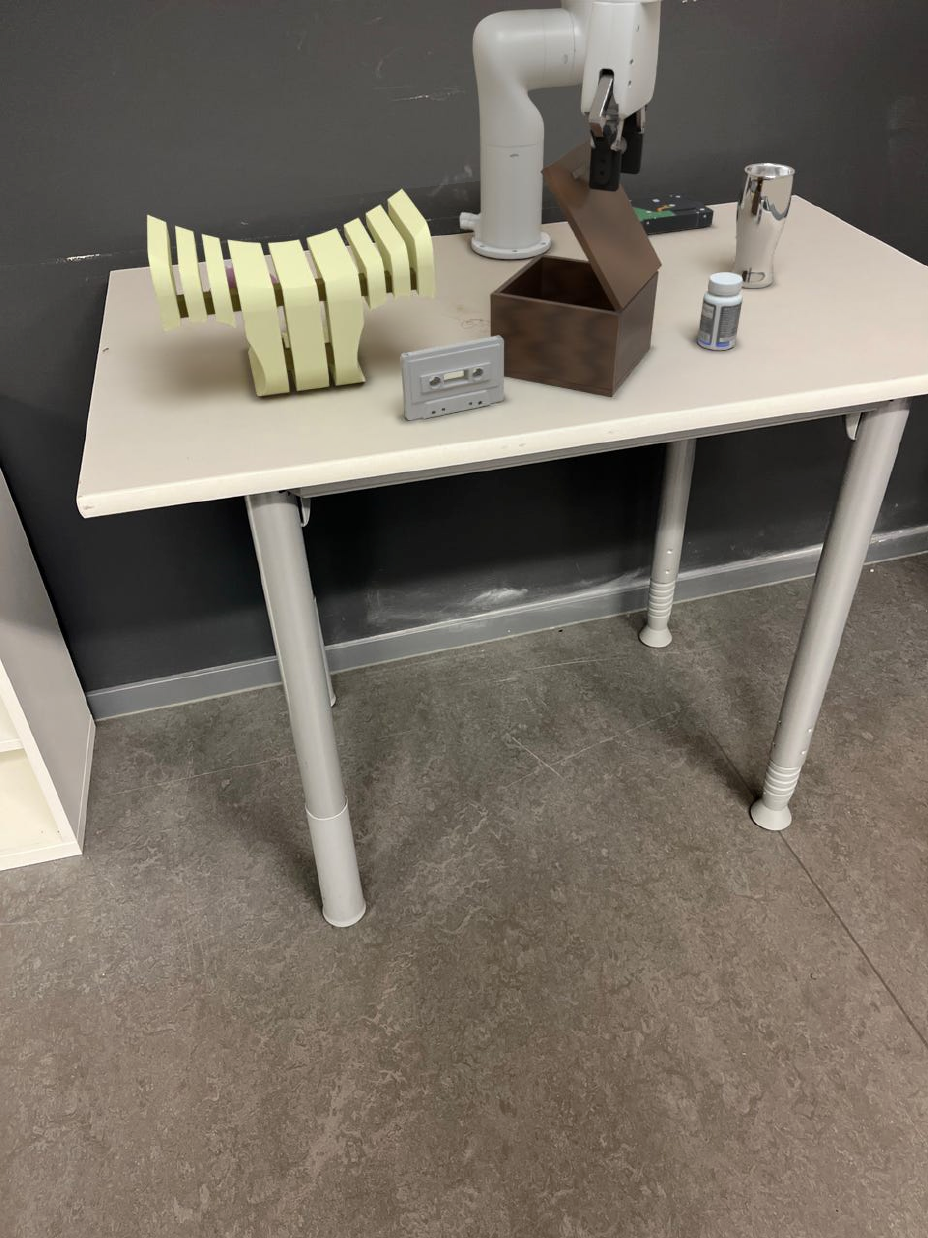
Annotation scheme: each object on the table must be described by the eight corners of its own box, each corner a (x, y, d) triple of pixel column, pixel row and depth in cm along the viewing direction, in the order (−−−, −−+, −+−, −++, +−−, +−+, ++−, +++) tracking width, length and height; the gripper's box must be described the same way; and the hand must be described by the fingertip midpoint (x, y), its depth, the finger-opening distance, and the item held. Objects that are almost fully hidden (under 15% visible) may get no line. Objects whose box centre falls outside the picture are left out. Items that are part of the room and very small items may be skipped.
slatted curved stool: (185, 417, 106) (147, 260, 94) (181, 360, 118) (147, 214, 106) (439, 382, 111) (432, 229, 100) (410, 330, 123) (402, 188, 111)
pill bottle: (736, 338, 119) (748, 272, 113) (732, 353, 116) (744, 286, 110) (699, 333, 120) (709, 268, 115) (694, 348, 117) (704, 282, 111)
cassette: (408, 423, 104) (403, 358, 99) (402, 415, 105) (398, 351, 100) (505, 402, 107) (506, 339, 102) (499, 395, 108) (499, 332, 103)
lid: (539, 171, 95) (581, 142, 92) (589, 137, 105) (628, 110, 102) (616, 312, 101) (658, 290, 97) (656, 268, 111) (695, 246, 107)
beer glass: (770, 272, 136) (791, 162, 126) (778, 290, 131) (800, 176, 121) (722, 271, 137) (740, 162, 127) (728, 289, 131) (746, 176, 122)
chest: (490, 373, 113) (490, 293, 106) (536, 328, 123) (539, 253, 116) (611, 397, 107) (618, 314, 101) (650, 348, 117) (659, 270, 111)
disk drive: (682, 209, 160) (604, 218, 156) (685, 192, 158) (605, 201, 155) (712, 227, 152) (630, 237, 149) (715, 210, 150) (632, 219, 147)
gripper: (623, -32, 95) (609, 157, 107) (559, -10, 84) (551, 199, 95) (694, -30, 93) (672, 163, 104) (639, -7, 81) (620, 207, 93)
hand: (614, 179), depth 100 cm, fingers closed on lid, 6 cm apart
